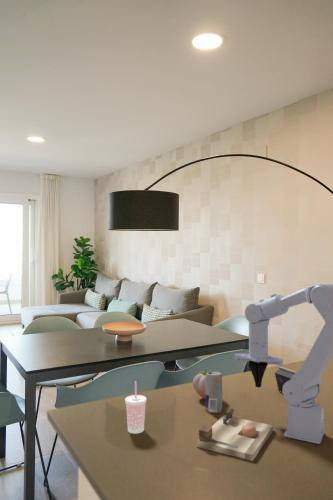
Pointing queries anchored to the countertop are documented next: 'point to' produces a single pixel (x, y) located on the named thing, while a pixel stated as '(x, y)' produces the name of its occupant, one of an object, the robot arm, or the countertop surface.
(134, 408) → the beverage cup
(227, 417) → the grey rectangular block
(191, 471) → the countertop surface
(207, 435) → the walnut slider
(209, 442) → the control panel
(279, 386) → the electrical switch
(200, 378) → the decorative fruit
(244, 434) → the terracotta button
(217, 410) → the energy drink
